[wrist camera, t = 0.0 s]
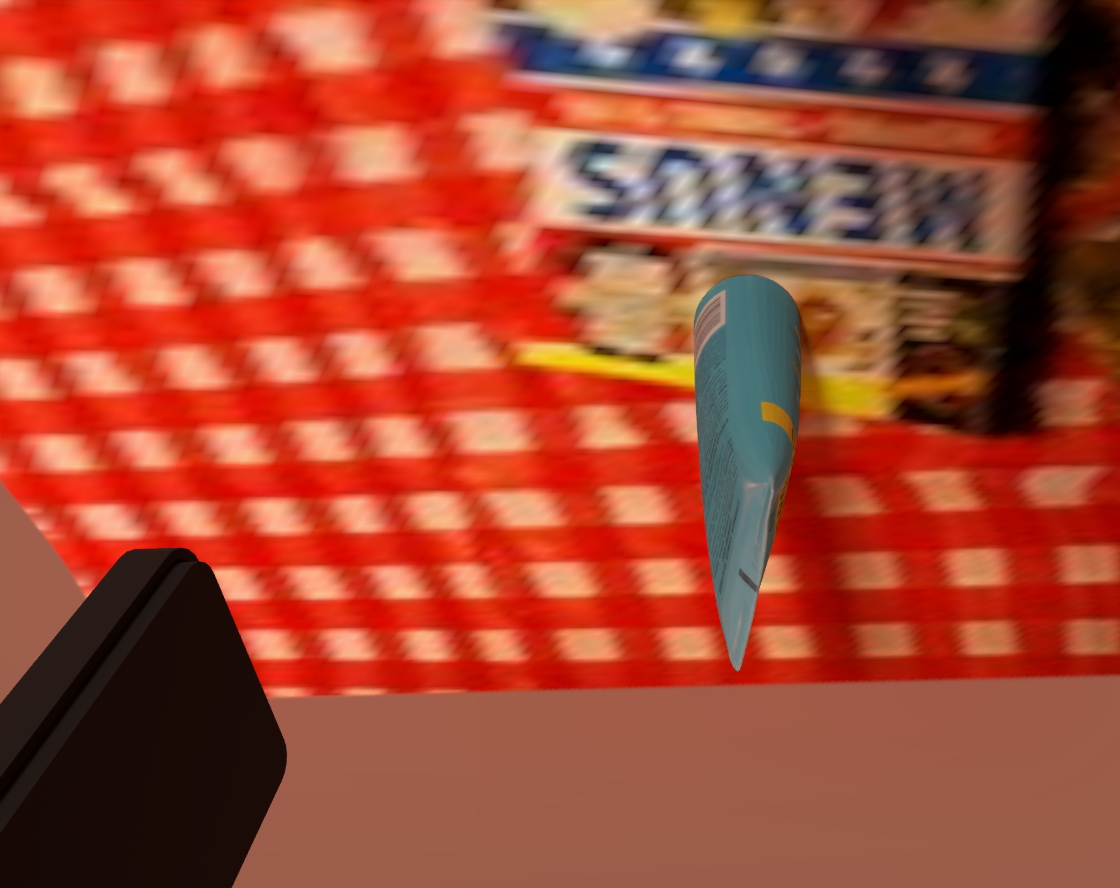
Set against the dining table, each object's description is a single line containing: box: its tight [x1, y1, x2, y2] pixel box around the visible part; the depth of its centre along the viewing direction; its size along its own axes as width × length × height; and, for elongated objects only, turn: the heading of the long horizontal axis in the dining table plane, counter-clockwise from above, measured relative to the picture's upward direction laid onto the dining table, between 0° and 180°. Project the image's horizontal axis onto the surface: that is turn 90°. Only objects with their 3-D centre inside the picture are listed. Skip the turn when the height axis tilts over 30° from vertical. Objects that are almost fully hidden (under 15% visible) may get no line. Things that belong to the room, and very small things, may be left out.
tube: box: [694, 275, 801, 671], centre depth 40 cm, size 7×5×19 cm, turn 1°
